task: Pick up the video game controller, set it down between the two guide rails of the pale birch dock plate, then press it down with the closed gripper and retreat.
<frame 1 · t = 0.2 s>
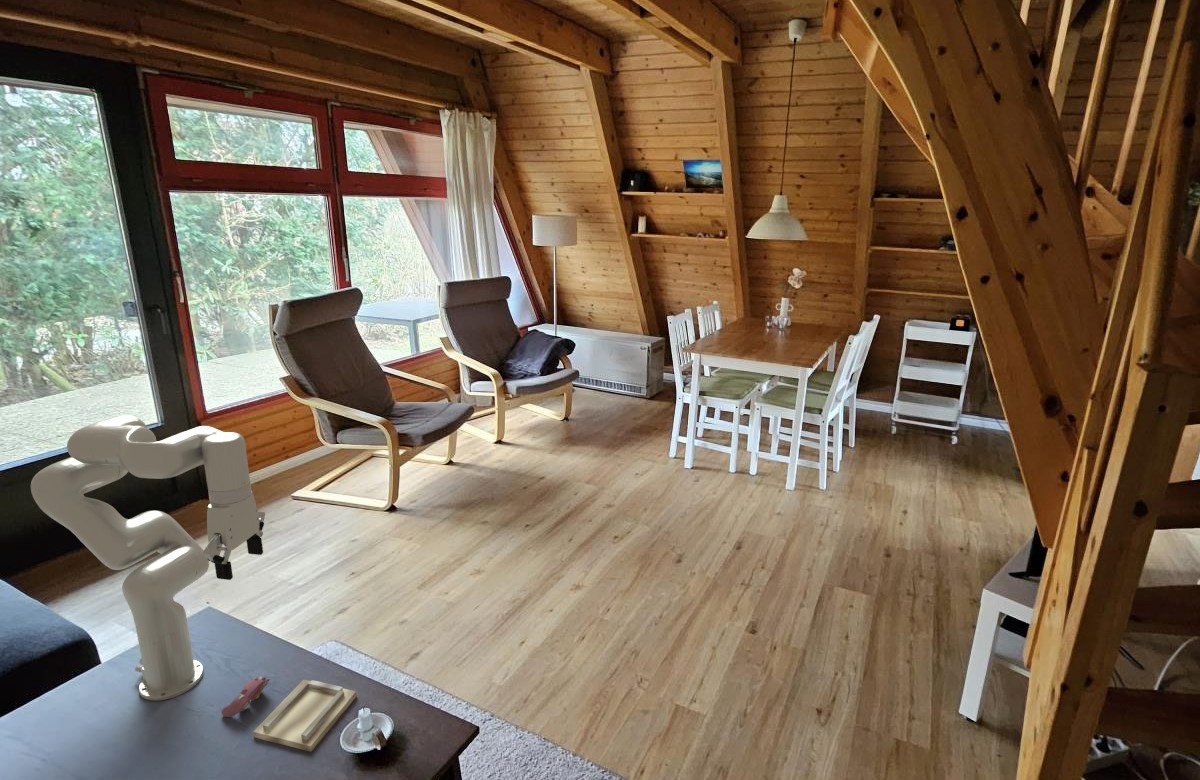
hand: (240, 565, 133), 36 cm above the table, tool pointing down, fingers open, 9 cm apart
dock: (307, 716, 139), on the table
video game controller: (248, 704, 142), on the table
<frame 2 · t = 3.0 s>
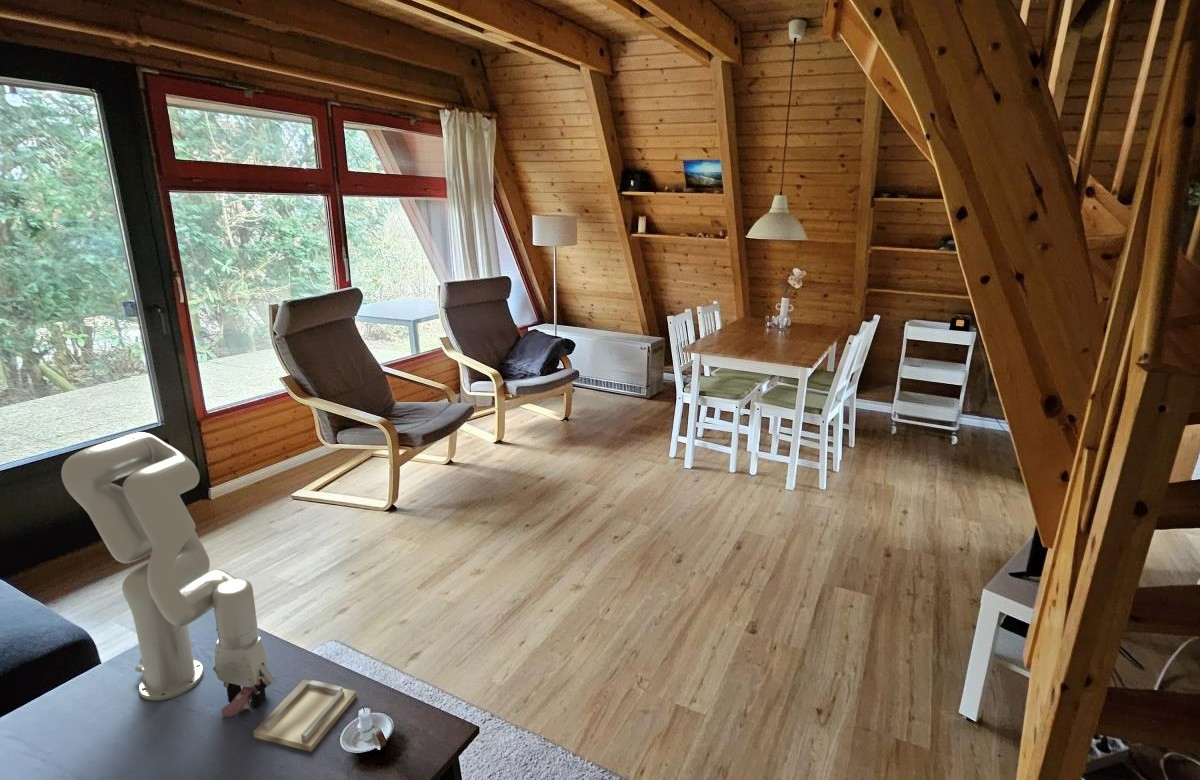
hand: (247, 700, 142), 1 cm above the table, tool pointing down, fingers closed on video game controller, 5 cm apart
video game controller: (247, 704, 142), on the table, touching gripper
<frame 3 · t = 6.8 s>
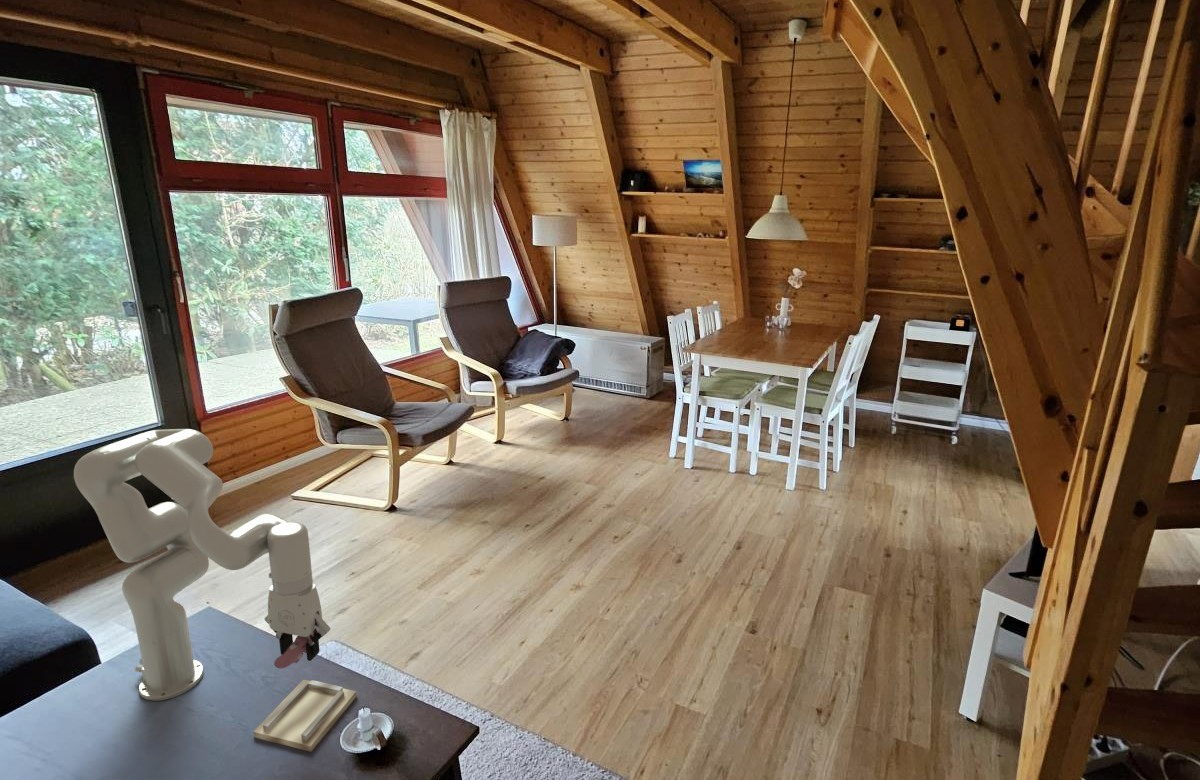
hand: (300, 652, 135), 17 cm above the table, tool pointing down, fingers closed on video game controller, 5 cm apart
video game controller: (300, 656, 135), point 16 cm above the table, touching gripper
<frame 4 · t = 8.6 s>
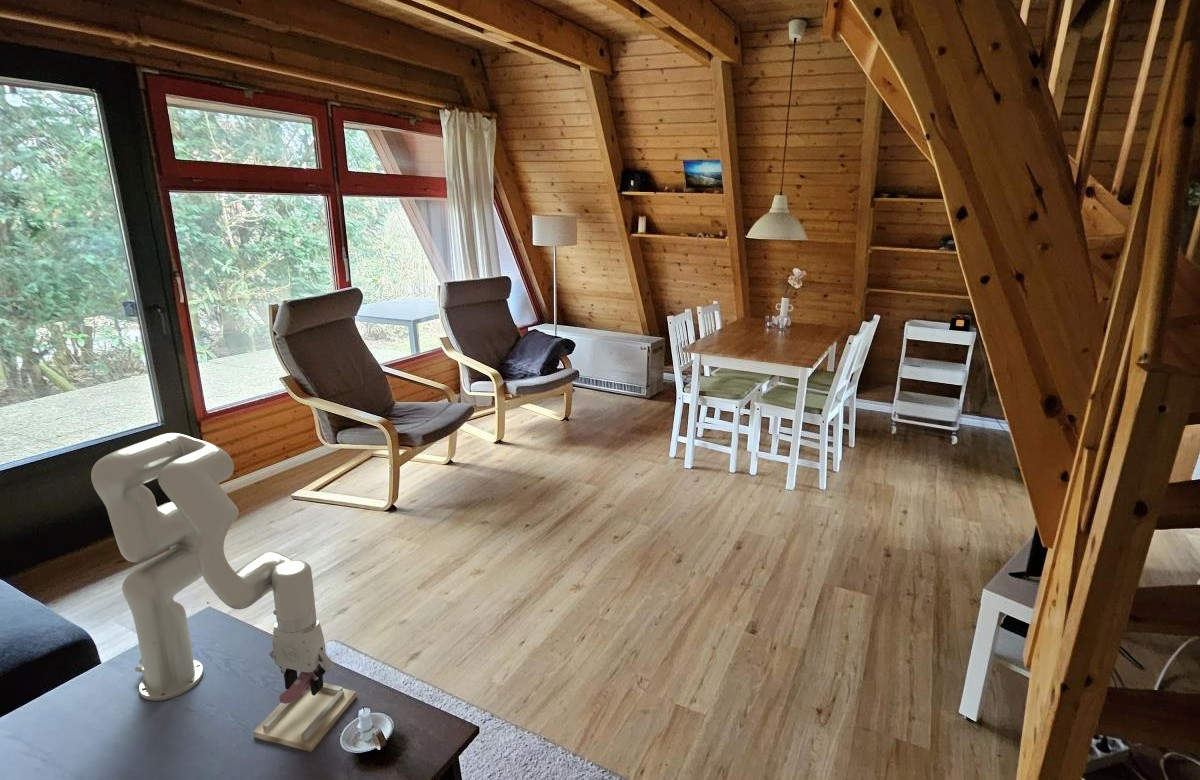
hand: (304, 687, 137), 8 cm above the table, tool pointing down, fingers closed on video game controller, 5 cm apart
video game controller: (304, 691, 137), point 7 cm above the table, touching gripper
when the fingers open (3 cm above the table, at t = 10.3 s): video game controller stays where it is, resting on dock.
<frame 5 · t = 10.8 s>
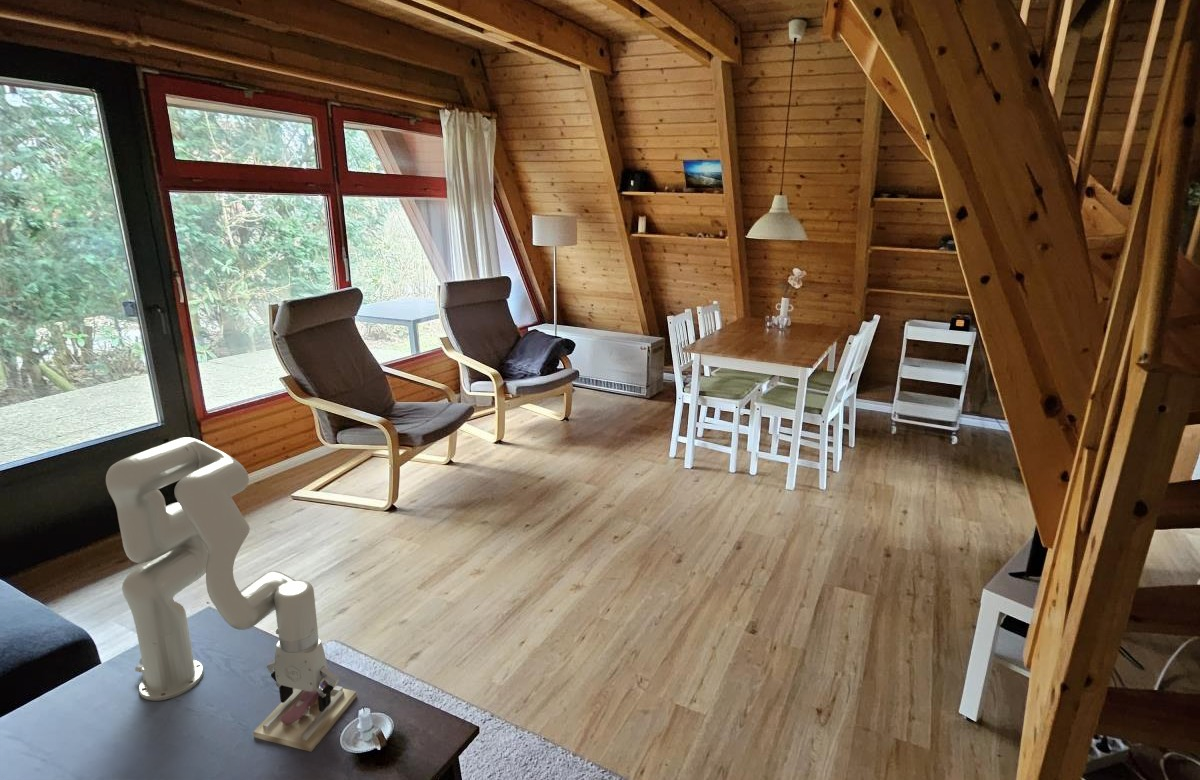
hand: (306, 702, 138), 4 cm above the table, tool pointing down, fingers open, 9 cm apart
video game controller: (306, 711, 139), point 1 cm above the table, touching dock
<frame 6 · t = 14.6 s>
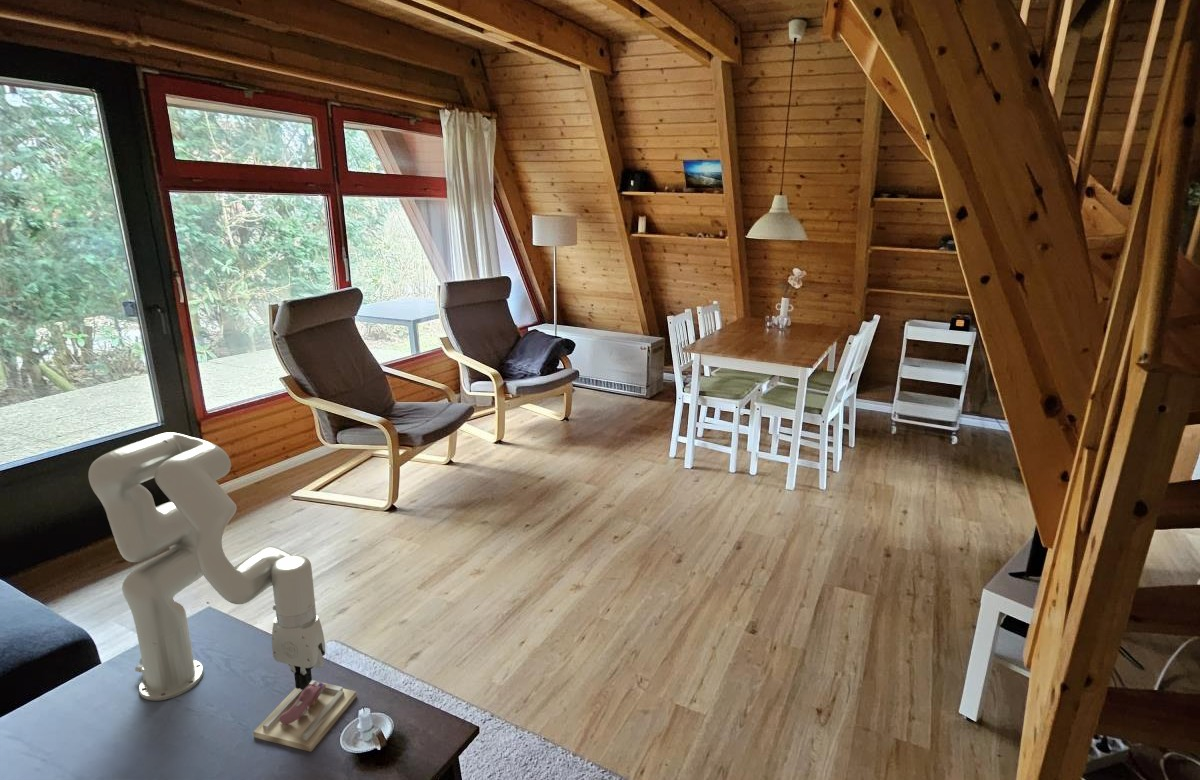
hand: (304, 684, 137), 9 cm above the table, tool pointing down, fingers closed
nothing on the table moved.
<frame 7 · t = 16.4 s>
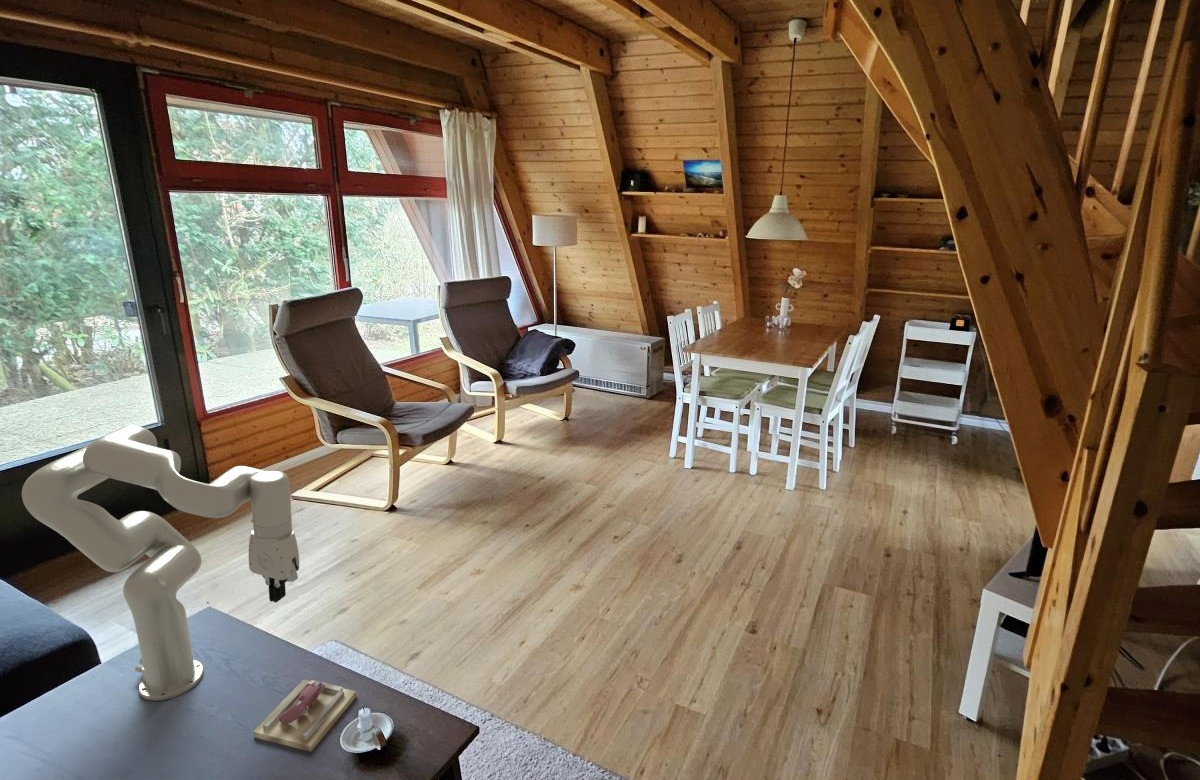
hand: (277, 598, 142), 23 cm above the table, tool pointing down, fingers closed
nothing on the table moved.
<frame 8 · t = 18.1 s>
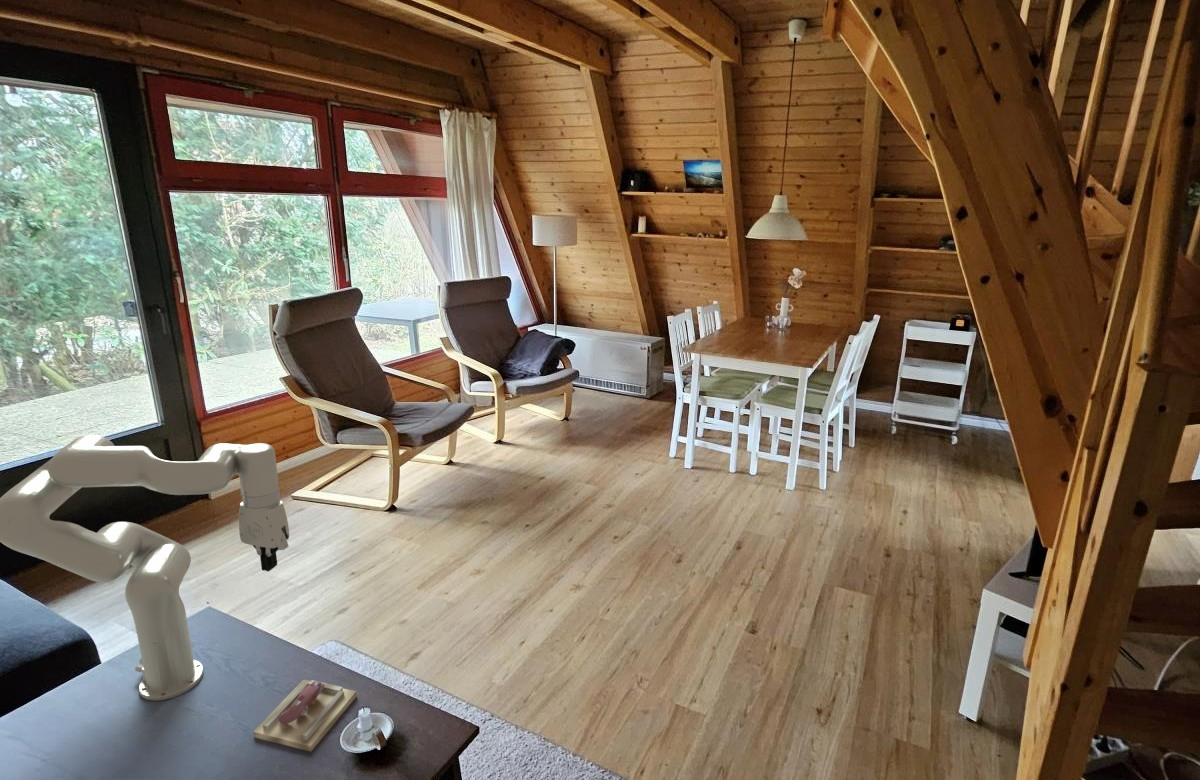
hand: (269, 567, 147), 27 cm above the table, tool pointing down, fingers closed
nothing on the table moved.
at the end: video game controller 0.7 cm off-centre on the dock, point 1.3 cm above the dock's base; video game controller tilted 0°; the gripper is holding nothing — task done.
